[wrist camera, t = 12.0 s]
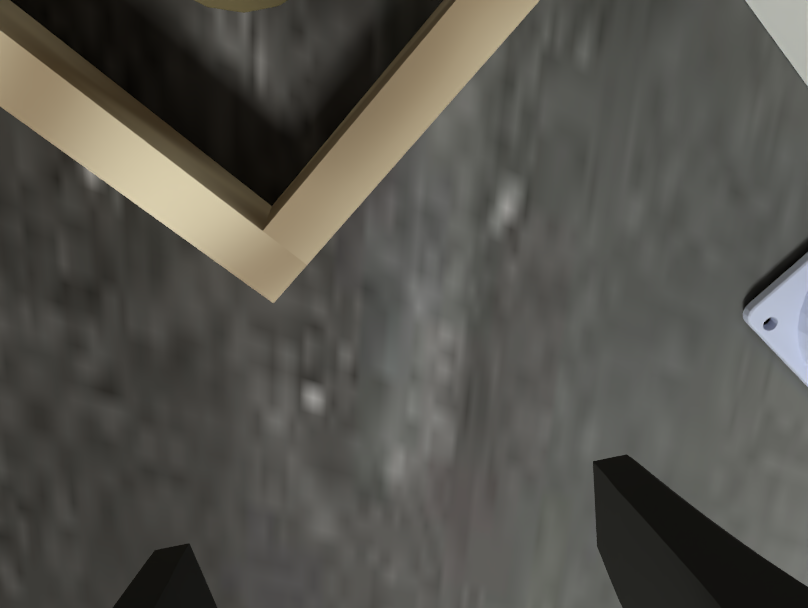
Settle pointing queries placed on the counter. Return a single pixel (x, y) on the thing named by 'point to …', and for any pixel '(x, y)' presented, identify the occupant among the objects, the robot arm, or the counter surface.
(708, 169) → the counter surface
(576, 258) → the counter surface
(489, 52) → the wooden square frame
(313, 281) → the counter surface
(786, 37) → the white picture frame
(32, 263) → the counter surface
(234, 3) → the cork
